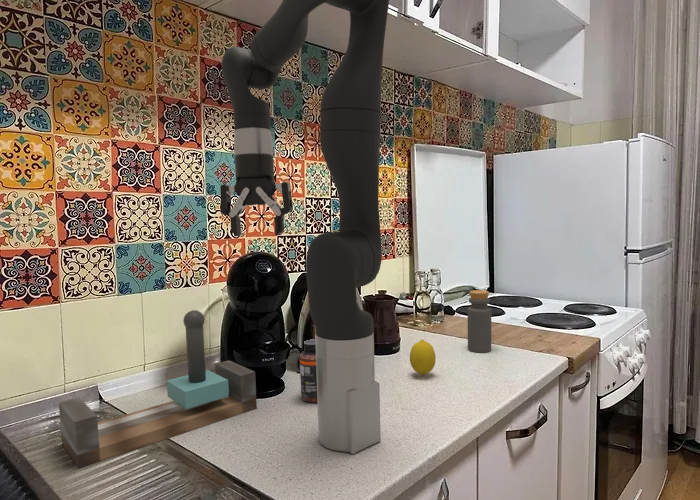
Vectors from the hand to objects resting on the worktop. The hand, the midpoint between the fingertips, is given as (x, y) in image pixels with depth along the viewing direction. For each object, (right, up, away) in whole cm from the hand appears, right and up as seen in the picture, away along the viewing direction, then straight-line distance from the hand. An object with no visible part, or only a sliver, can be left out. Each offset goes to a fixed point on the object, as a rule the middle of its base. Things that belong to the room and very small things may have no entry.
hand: (258, 235), depth 98 cm
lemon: (+34, -31, +9) cm, 47 cm away
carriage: (-9, -29, -9) cm, 32 cm away
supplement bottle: (+12, -32, -2) cm, 34 cm away
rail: (-13, -33, -13) cm, 38 cm away
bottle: (+52, -29, +27) cm, 65 cm away
